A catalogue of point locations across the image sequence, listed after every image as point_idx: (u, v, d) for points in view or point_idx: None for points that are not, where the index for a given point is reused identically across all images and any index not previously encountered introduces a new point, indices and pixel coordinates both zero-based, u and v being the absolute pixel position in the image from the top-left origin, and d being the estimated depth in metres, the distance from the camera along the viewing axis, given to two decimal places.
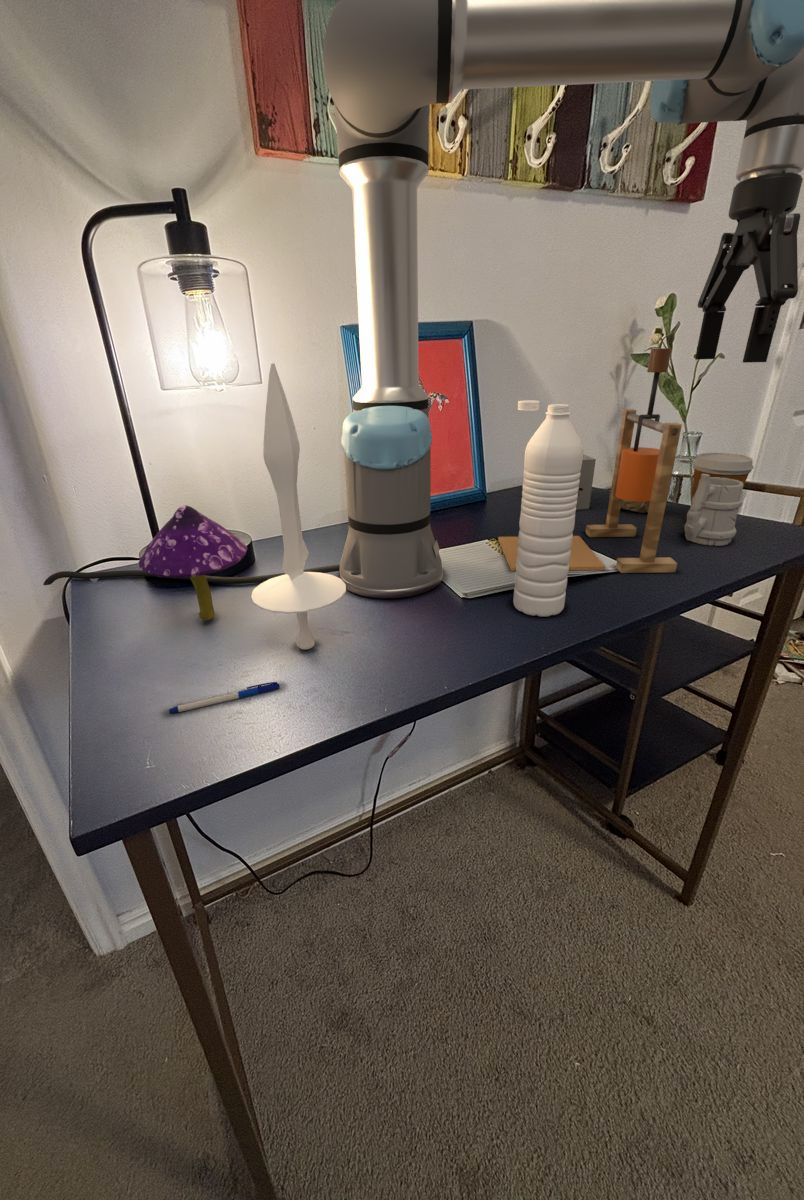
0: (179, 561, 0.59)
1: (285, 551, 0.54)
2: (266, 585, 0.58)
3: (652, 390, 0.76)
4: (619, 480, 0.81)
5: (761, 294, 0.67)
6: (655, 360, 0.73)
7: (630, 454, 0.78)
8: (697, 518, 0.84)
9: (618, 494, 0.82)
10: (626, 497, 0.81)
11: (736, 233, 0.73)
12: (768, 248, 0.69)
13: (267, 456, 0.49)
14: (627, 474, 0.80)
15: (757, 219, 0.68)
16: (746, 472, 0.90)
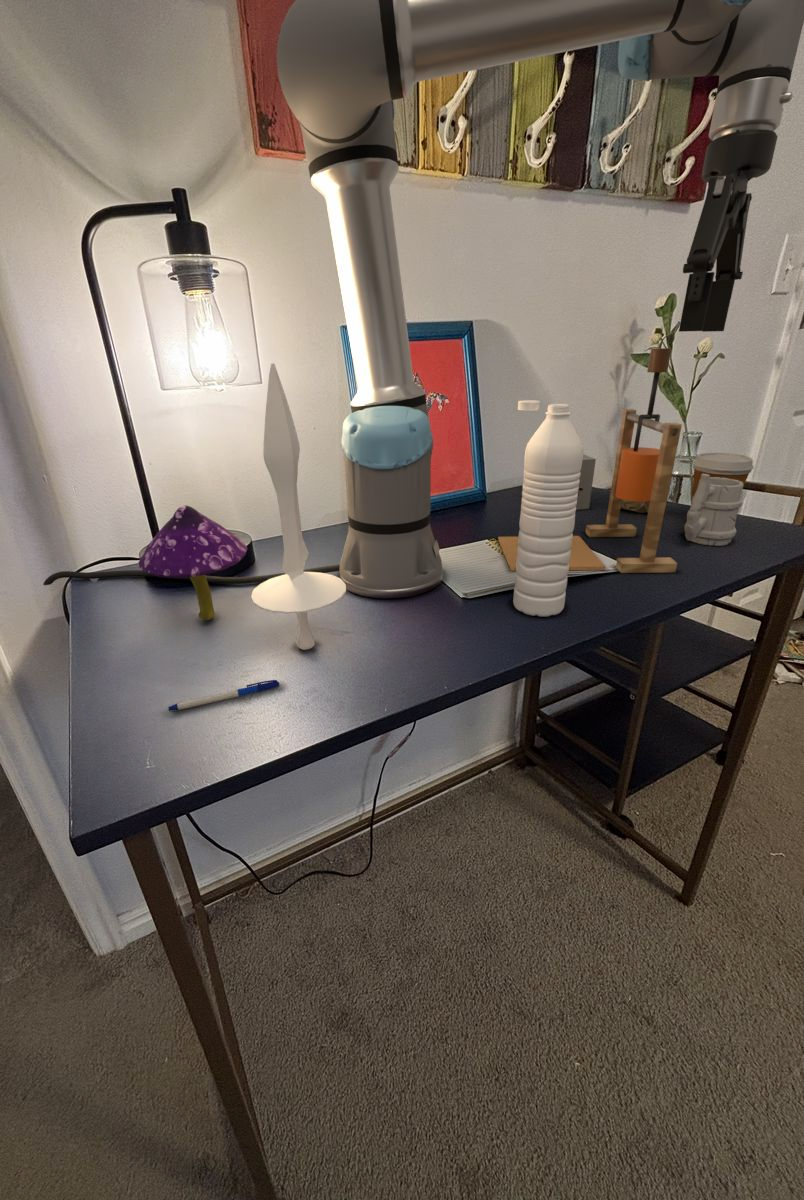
0: (179, 561, 0.59)
1: (285, 551, 0.54)
2: (266, 585, 0.58)
3: (652, 390, 0.76)
4: (619, 480, 0.81)
5: None
6: (655, 360, 0.73)
7: (630, 454, 0.78)
8: (697, 518, 0.84)
9: (618, 494, 0.82)
10: (626, 497, 0.81)
11: None
12: (725, 211, 0.66)
13: (267, 456, 0.49)
14: (627, 474, 0.80)
15: None
16: (746, 472, 0.90)
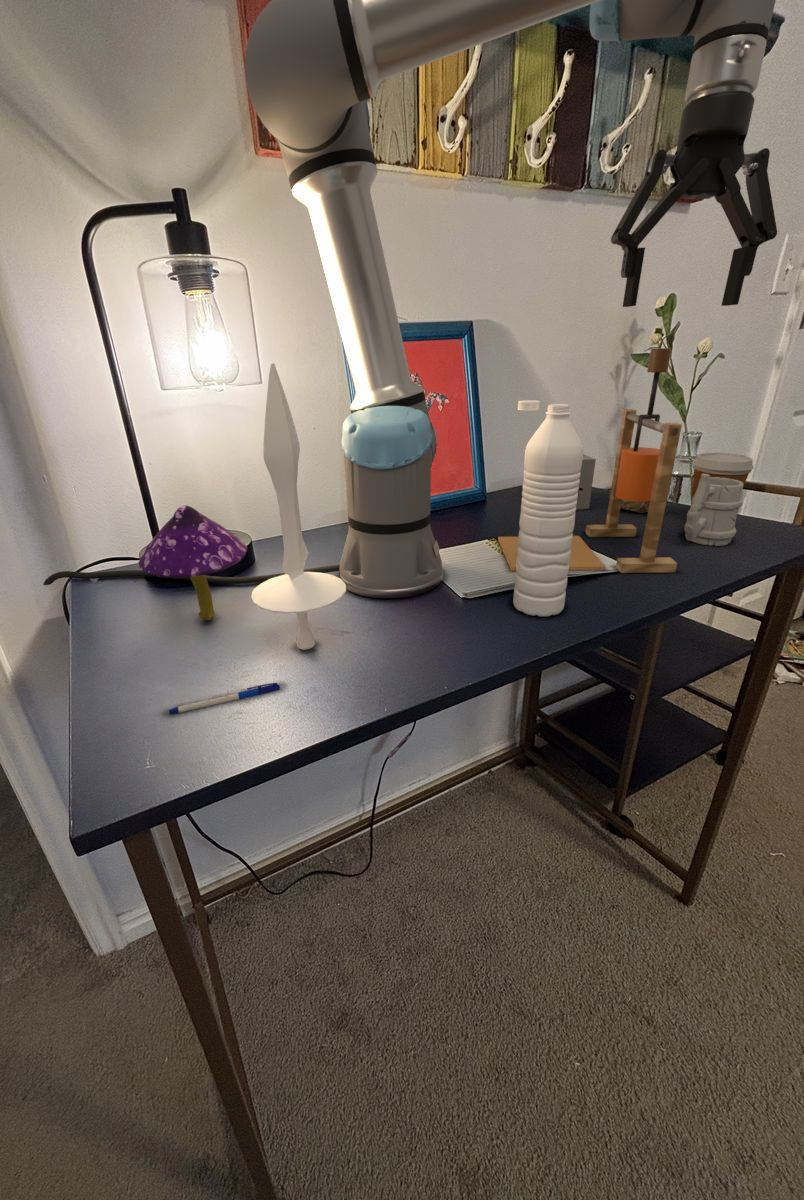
0: (179, 561, 0.59)
1: (285, 551, 0.54)
2: (266, 585, 0.58)
3: (652, 390, 0.76)
4: (619, 480, 0.81)
5: None
6: (655, 360, 0.73)
7: (630, 454, 0.78)
8: (697, 518, 0.84)
9: (618, 494, 0.82)
10: (626, 497, 0.81)
11: None
12: None
13: (267, 456, 0.49)
14: (627, 474, 0.80)
15: None
16: (746, 472, 0.90)
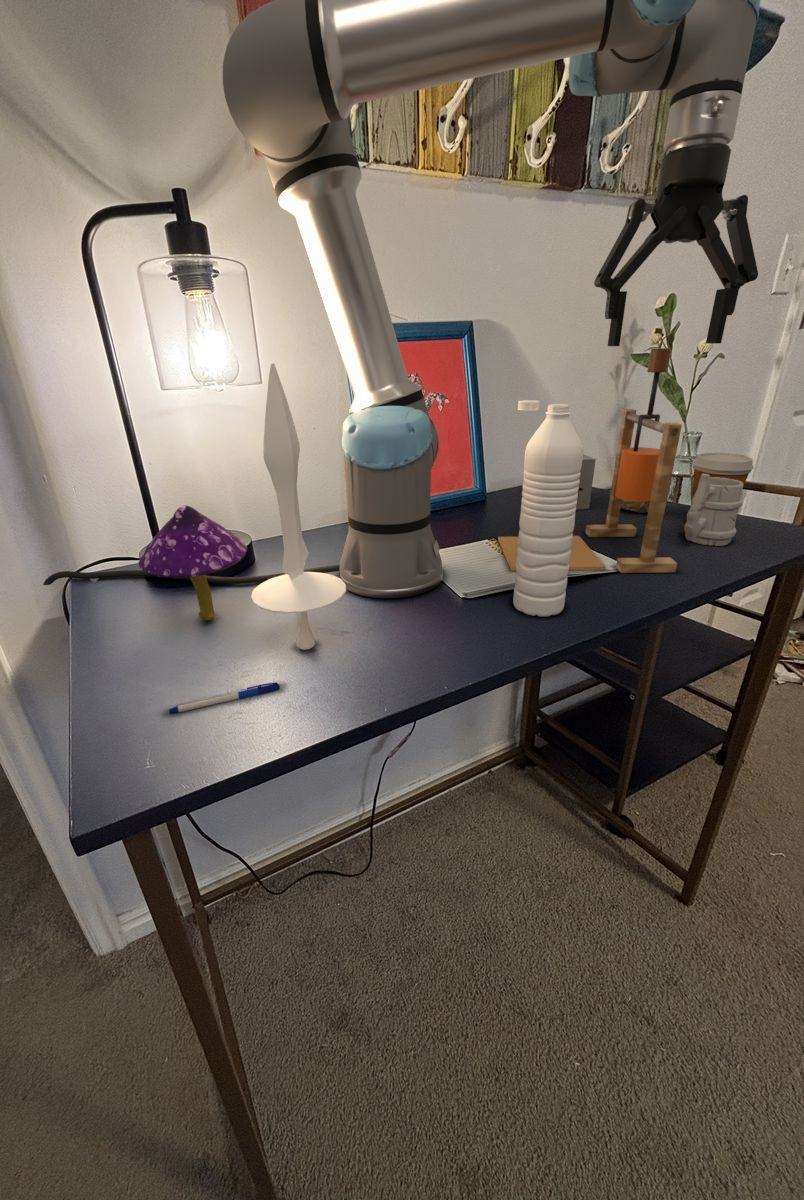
0: (179, 561, 0.59)
1: (285, 551, 0.54)
2: (266, 585, 0.58)
3: (652, 390, 0.76)
4: (619, 480, 0.81)
5: None
6: (655, 360, 0.73)
7: (630, 454, 0.78)
8: (697, 518, 0.84)
9: (618, 494, 0.82)
10: (626, 497, 0.81)
11: None
12: None
13: (267, 456, 0.49)
14: (627, 474, 0.80)
15: None
16: (746, 472, 0.90)
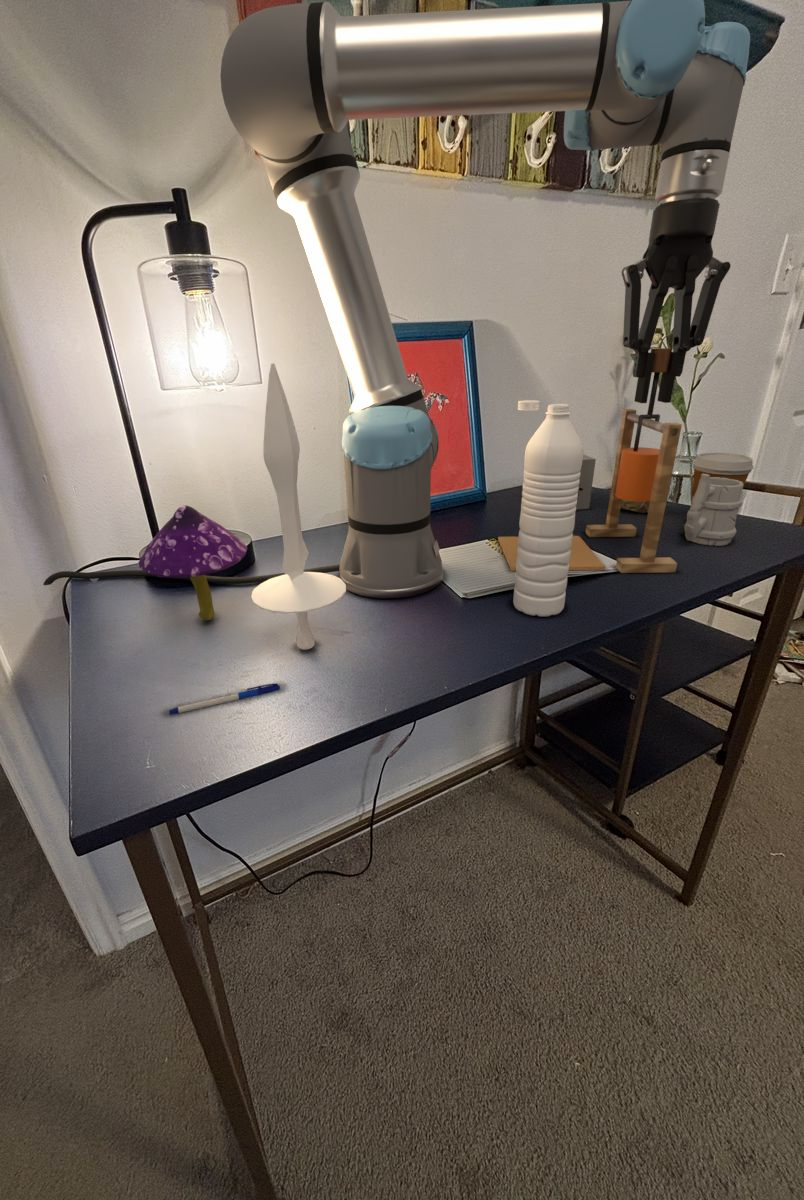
0: (179, 561, 0.59)
1: (285, 551, 0.54)
2: (266, 585, 0.58)
3: (652, 390, 0.76)
4: (619, 480, 0.81)
5: None
6: (655, 360, 0.73)
7: (630, 454, 0.78)
8: (697, 518, 0.84)
9: (618, 494, 0.82)
10: (626, 497, 0.81)
11: None
12: (652, 276, 0.69)
13: (267, 456, 0.49)
14: (627, 474, 0.80)
15: None
16: (746, 472, 0.90)
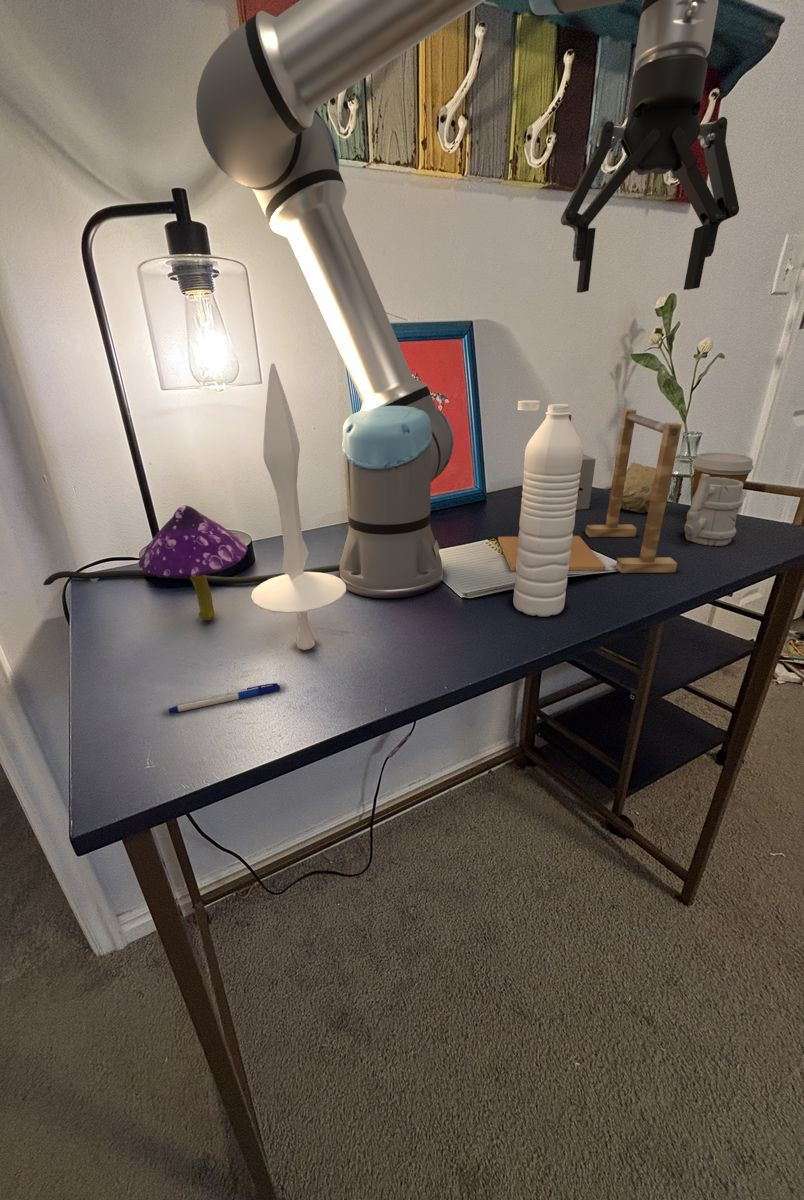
0: (179, 561, 0.59)
1: (285, 551, 0.54)
2: (266, 585, 0.58)
3: None
4: None
5: None
6: None
7: None
8: (697, 518, 0.84)
9: None
10: None
11: None
12: None
13: (267, 456, 0.49)
14: None
15: None
16: (746, 472, 0.90)
